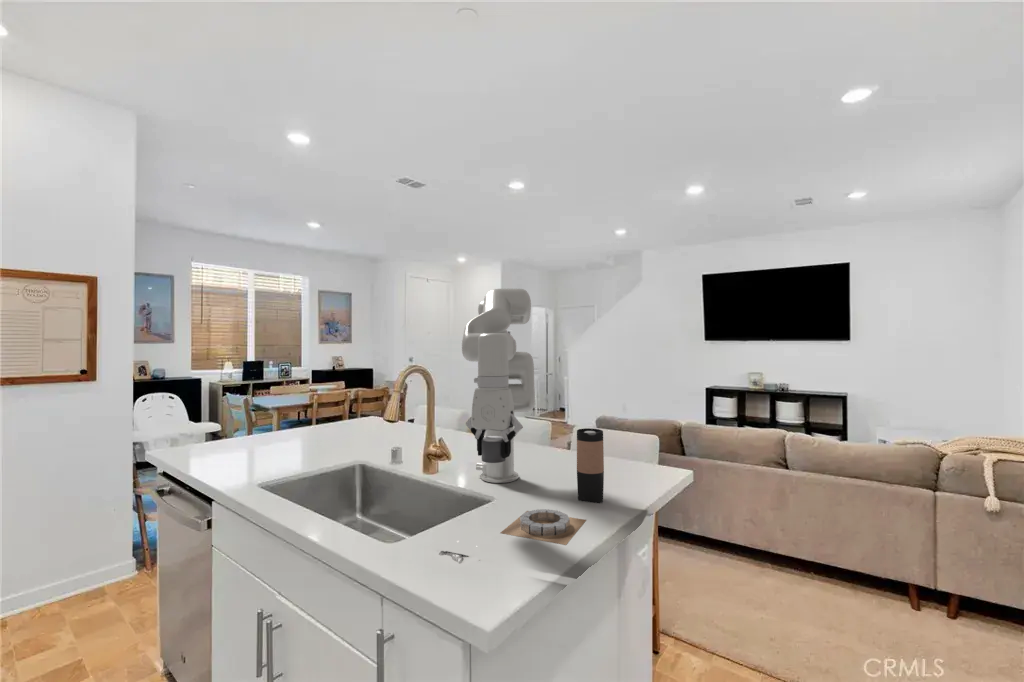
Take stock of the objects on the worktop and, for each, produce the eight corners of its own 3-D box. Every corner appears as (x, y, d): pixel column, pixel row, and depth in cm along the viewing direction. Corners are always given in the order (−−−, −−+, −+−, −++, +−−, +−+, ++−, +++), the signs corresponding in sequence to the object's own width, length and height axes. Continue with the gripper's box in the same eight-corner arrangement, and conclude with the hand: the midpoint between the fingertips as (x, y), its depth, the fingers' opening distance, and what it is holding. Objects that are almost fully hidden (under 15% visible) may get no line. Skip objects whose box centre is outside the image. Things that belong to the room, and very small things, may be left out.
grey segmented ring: (512, 530, 110) (512, 522, 110) (531, 514, 120) (531, 506, 120) (559, 539, 105) (559, 530, 105) (575, 521, 115) (575, 513, 115)
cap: (477, 461, 115) (477, 439, 115) (488, 456, 120) (488, 435, 120) (499, 463, 112) (499, 441, 112) (509, 458, 118) (509, 436, 118)
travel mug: (587, 494, 140) (587, 427, 140) (609, 500, 134) (608, 430, 134) (571, 500, 134) (571, 430, 135) (593, 507, 129) (593, 434, 129)
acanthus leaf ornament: (457, 545, 106) (457, 537, 106) (482, 553, 102) (481, 544, 102) (434, 557, 100) (434, 548, 100) (459, 566, 96) (459, 557, 96)
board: (499, 538, 109) (499, 532, 109) (527, 515, 123) (527, 510, 123) (566, 550, 102) (565, 544, 102) (586, 524, 116) (586, 519, 116)
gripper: (455, 383, 117) (456, 455, 117) (518, 385, 109) (519, 463, 109) (470, 380, 123) (471, 449, 123) (531, 382, 116) (531, 455, 116)
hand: (493, 455), depth 116 cm, fingers closed on cap, 5 cm apart
